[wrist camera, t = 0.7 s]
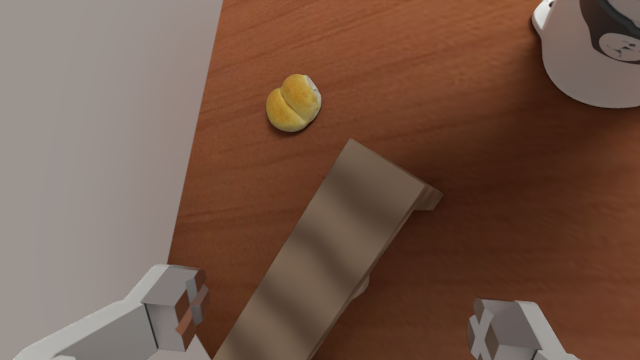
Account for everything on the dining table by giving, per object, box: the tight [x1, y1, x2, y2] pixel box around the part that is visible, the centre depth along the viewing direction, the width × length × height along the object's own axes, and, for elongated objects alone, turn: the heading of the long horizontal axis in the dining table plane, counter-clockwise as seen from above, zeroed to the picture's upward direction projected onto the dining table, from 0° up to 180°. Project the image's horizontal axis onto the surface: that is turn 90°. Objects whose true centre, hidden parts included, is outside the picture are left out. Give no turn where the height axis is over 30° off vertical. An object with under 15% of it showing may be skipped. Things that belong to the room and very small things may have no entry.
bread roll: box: [266, 74, 321, 132], centre depth 52 cm, size 8×9×4 cm
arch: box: [213, 138, 444, 360], centre depth 40 cm, size 33×8×16 cm, turn 146°
